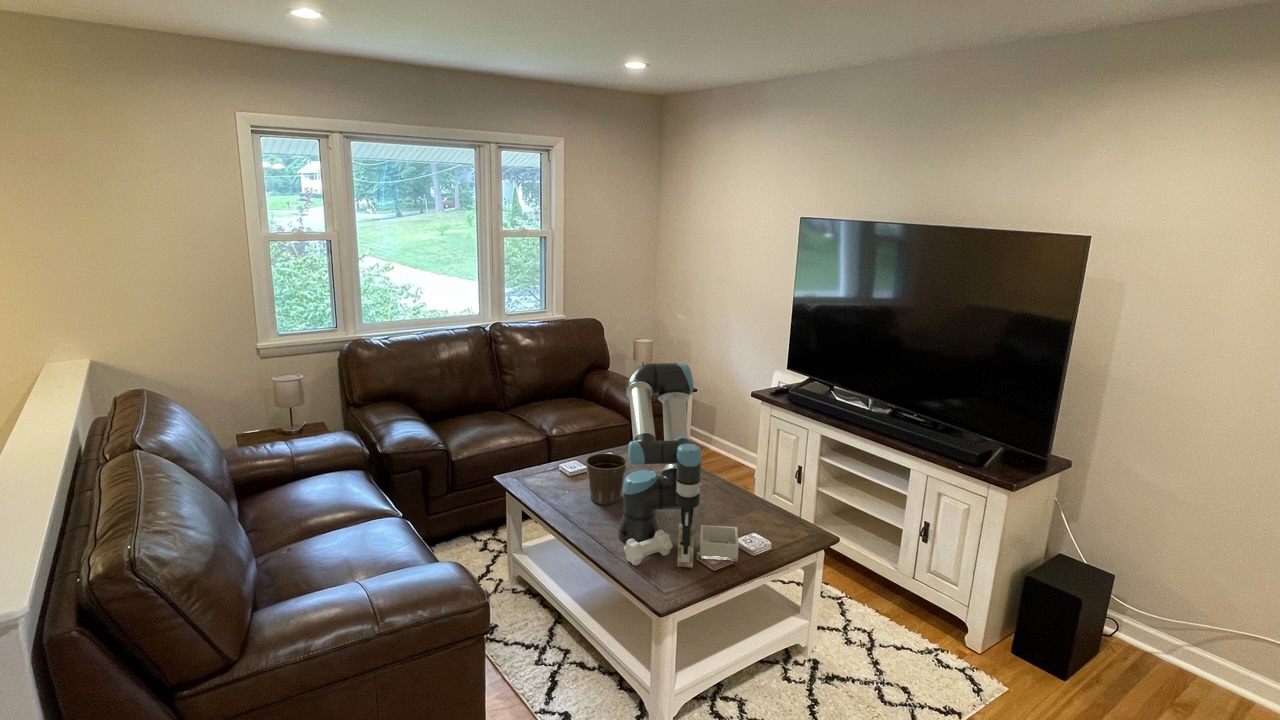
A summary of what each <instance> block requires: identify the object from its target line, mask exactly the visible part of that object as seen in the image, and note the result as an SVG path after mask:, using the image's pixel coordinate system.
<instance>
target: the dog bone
mask: <svg viewBox="0 0 1280 720" xmlns="http://www.w3.org/2000/svg"><path fill="white" fill-rule="evenodd" d="M673 545H674V544H673V543H672V540H671V535H670V534H669V533H667V532H665V530H664V529H660V530H658V531H656V533H655V536H654V537H653V538H652V539H648V540H645V541H642V542H639V543H638V542H636V541H635V539H629V540H628V541H627V542H626V543H625V545H624V547H623V551H624V554H625V557H626V561H627V562H629V563H631V565H632V566H635V567H637V566H639V565H640V564H641V563H642V559H643V558H644V557H647V556H649V555H650V556H651V555H653V554H655V553H659V554H660V555H661V556H664V557H665V556H668V555H670V552H671V549H672V548H673Z"/></svg>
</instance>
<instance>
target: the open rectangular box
mask: <svg viewBox="0 0 1280 720" xmlns="http://www.w3.org/2000/svg"><path fill="white" fill-rule="evenodd" d="M738 534H739V532H738V527H737V526H727V525H726V526H723V525H722V526H721V525H708V524H701V525H700V536H699V538H700V539H699V541H700V542H699V557H700V556H720V557H728V558H731V559H732V560H734V561H735V562H736V563H738V561H739V547H740V545H739V535H738ZM735 562H734V563H735Z"/></svg>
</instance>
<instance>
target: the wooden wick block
mask: <svg viewBox="0 0 1280 720" xmlns="http://www.w3.org/2000/svg"><path fill="white" fill-rule="evenodd" d="M695 526H696V525H695V523H692V525H690V559H689V562H681V548H682V545H680V542H682V529H683V525H682V524H681V522H680V523H678V534H677V535H678V536H677V537H678V540H677V541H678V542H677V561H676V563H677V565H676V566H677V567H681V568H692V569H693V568H694V567H693V566H694V565H693V564H694V549H695V547H694V545H695V543H694V542H695Z"/></svg>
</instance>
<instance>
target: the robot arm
mask: <svg viewBox="0 0 1280 720" xmlns="http://www.w3.org/2000/svg"><path fill="white" fill-rule="evenodd" d="M625 392H626V393H625V394H626V397H627V398H628V399H629V407H630V409H629V410H630V416H631V429H632V440H630V441H629V442H628V448H627V449H628V451H627V454H628V455H627V457H628V462H629V464H632V465H658V464H659V465H660V464H661V465H665V466H664V468H663V469H662V470H661V475H658V474H657V473H656V472H655V471H653V470H649V469H641V470H636V471H632V472H631V473H629V474H627V475H626V476H625V478H624V479H623V487H622V492H623V503H622V504H623V505H622V506H623V508H622V509H623V513H622V517H621V520H620V522H619V525H618V529H617V536H618V539H619V540H620V541H621V542H623V543H624V544H626V542H627V541H628V540H629V539H635V541H636V542H638V543H639V542H642V541H645V540H648V539H652V538H653V537H654V536H655V533H656V531H658V530H661V527H660V524H659V520H658V518H657V511H659V510H661V511H663V510H668V511H669V510H680V516H681V521H680V523H681V524H682V525H683V529H682V542H680V545H682V548H681V562H689V559H690V525H692V524H693V517H694V509H695V508H697V507H698V506H699V505H700V498H701V497H700V491H701V487H702V486H703V484H702V483H701V474H702V472H701V471H702V470H701V469H702V460H703V456H702V448H701V447H700V446H698V445H696V444H694V442H693V441H692V440H691V439H690V438H689V436H688V435H689V434H688V421H687V418H688V417H687V404H686V403H687V401H688V400H689V399H690V395H692V394H693V392H694V380H693V375H692V371H691V368H690V366H689V365H688V364H687V363H681V362H680V363H678V362H670V363H665V362H664V363H663V362H661V363H660V362H659V363H654V362H653V363H651V362H650V363H645V364H642V365H639V366H638V367H637V368H635V369H634V370H633V371H632V372H631V374H630V375H629V376H628V379H627V380H626V384H625ZM652 395H657V399H658V401H659V402H660V403H661V404H662V417H663V418H662V419H663V437H664V438H663V439H664V440H657V438H656V432H655V430H656V429H655V421H654V414H653V406H652V399H651V397H652Z"/></svg>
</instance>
